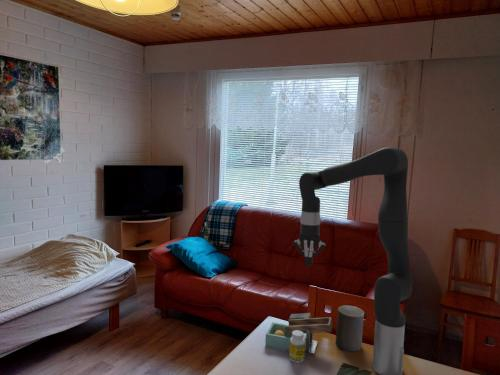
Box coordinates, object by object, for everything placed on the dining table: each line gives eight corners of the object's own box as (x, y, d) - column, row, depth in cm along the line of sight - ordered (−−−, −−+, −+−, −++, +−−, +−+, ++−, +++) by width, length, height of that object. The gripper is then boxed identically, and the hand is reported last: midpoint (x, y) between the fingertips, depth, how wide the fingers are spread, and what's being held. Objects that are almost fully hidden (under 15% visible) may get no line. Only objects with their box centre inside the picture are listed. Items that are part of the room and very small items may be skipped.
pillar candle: (332, 346, 138) (335, 308, 136) (339, 335, 146) (342, 299, 145) (358, 354, 133) (361, 315, 132) (364, 342, 142) (367, 305, 140)
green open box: (296, 338, 143) (297, 326, 142) (291, 352, 133) (292, 339, 133) (271, 334, 146) (272, 322, 145) (265, 346, 136) (265, 334, 136)
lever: (334, 314, 144) (333, 307, 144) (331, 332, 130) (329, 324, 130) (291, 317, 150) (290, 310, 150) (283, 334, 136) (282, 327, 135)
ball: (283, 327, 141) (274, 329, 142) (281, 332, 137) (271, 333, 138) (286, 337, 141) (276, 339, 142) (284, 342, 137) (274, 344, 138)
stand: (317, 343, 140) (318, 321, 139) (313, 355, 131) (315, 332, 130) (304, 341, 141) (305, 318, 140) (300, 353, 133) (301, 329, 132)
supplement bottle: (297, 353, 133) (298, 327, 132) (307, 360, 129) (308, 334, 128) (286, 357, 130) (287, 331, 129) (295, 364, 126) (297, 338, 125)
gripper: (328, 222, 146) (326, 264, 147) (295, 219, 150) (293, 261, 151) (326, 225, 139) (324, 270, 140) (291, 222, 142) (290, 266, 144)
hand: (308, 265), depth 146 cm, fingers closed
